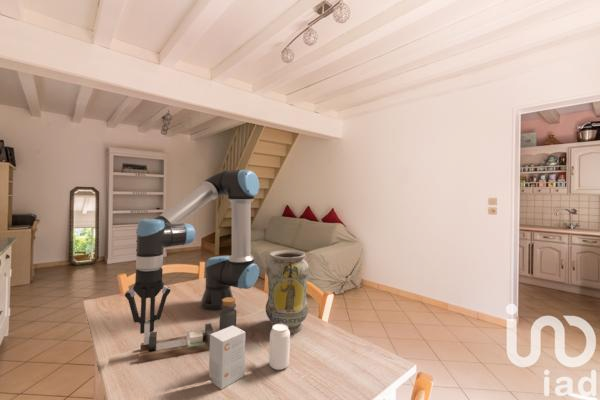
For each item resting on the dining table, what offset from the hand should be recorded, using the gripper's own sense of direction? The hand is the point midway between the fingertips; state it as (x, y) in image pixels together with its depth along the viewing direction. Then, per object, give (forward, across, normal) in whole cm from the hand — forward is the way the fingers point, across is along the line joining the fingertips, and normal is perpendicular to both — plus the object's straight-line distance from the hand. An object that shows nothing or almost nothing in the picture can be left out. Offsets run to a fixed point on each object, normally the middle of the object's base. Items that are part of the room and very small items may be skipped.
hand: (146, 342), depth 88 cm
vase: (+5, -50, -4) cm, 50 cm away
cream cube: (+4, -15, 0) cm, 15 cm away
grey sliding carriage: (+4, -7, +1) cm, 8 cm away
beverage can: (+5, -38, +20) cm, 43 cm away
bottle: (+5, -26, -1) cm, 26 cm away
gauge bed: (+5, -9, 0) cm, 10 cm away
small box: (+5, -22, +20) cm, 30 cm away
